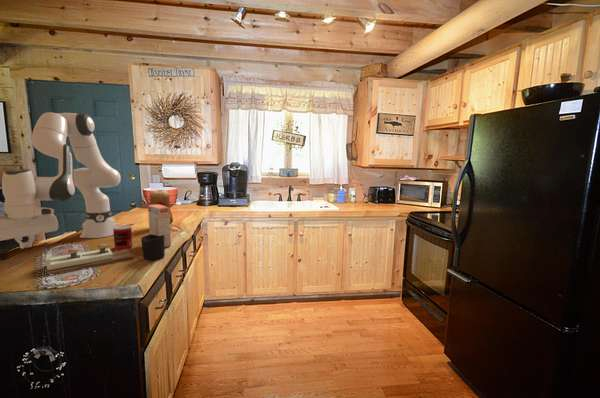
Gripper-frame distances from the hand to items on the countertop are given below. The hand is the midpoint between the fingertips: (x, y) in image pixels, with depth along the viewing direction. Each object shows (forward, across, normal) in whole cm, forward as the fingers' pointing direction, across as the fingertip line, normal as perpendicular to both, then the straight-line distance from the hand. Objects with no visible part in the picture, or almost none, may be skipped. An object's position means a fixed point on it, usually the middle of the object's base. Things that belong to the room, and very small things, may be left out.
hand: (26, 247), depth 106 cm
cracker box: (+10, +49, -12) cm, 51 cm away
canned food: (+10, +36, -1) cm, 38 cm away
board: (+10, +18, -8) cm, 23 cm away
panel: (+9, +15, -6) cm, 18 cm away
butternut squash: (+10, +72, +16) cm, 75 cm away
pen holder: (+11, +34, -26) cm, 44 cm away
